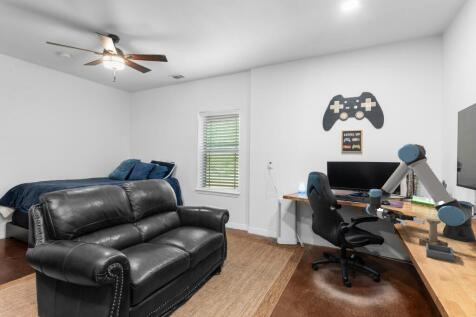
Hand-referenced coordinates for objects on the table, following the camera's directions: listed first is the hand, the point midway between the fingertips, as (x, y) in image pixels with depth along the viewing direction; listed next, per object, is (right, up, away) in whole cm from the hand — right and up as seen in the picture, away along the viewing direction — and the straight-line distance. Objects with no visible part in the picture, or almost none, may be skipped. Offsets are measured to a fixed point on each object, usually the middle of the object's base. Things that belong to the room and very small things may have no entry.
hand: (415, 223), depth 144 cm
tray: (-4, -11, -22) cm, 25 cm away
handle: (+3, -11, -10) cm, 15 cm away
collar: (+3, -10, -10) cm, 14 cm away
